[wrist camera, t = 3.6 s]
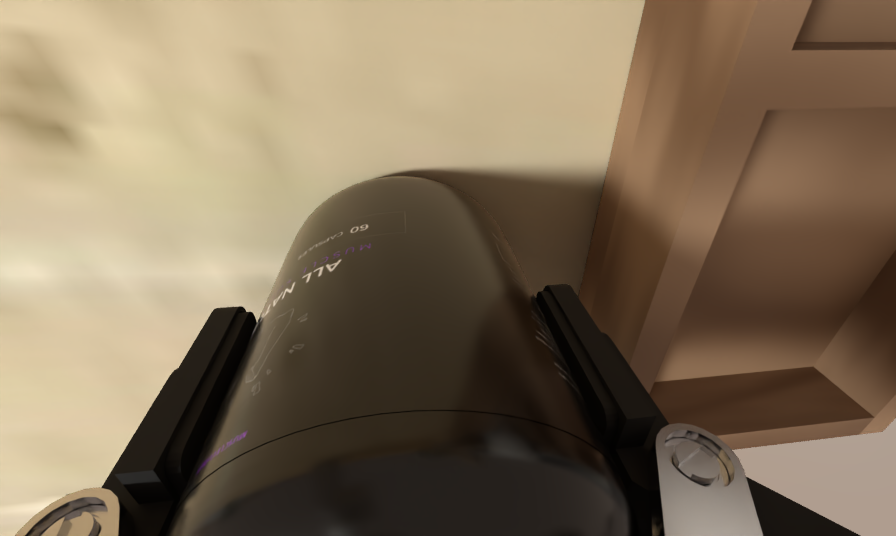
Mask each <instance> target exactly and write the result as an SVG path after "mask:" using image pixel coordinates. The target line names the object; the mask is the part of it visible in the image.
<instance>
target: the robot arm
mask: <svg viewBox="0 0 896 536" xmlns="http://www.w3.org/2000/svg"><path fill="white" fill-rule="evenodd" d="M536 300H537V302H538V304H539V307H540V309H541V311H542V313H543V315H544V317H545V319H546V321H547V323H548V325H549V327H550V329H551V331H552V333H553V336H554V338H555V340H556V342H557V344H558V346H559V348H560V350H561V352H562V354H563V356H564V358H565V360H566V362H567V365H568V367H569V369H570V371H571V373H572V375H573V377H574V379H575V381H576V383H577V385H578V387H579V389H580V391H581V394H582V396H583V398H584V400H585V402H586V404H587V406H588V408H589V410H590V412H591V414H592V416H593V418H594V420H595V423H596V425H597V427H598V429H599V431H600V433H601V435H602V437H603V439H604V441H605V443H606V445H607V448H608V450H609V452H610V454H611V456H612V458H613V460H614V462H615V464H616V466H617V468H618V471H619V473H620V475H621V477H622V479H623V483H624V485H625V487H626V489H627V491H628V494H629V496H630V499H631V501H632V504H633V506H634V508H635V512H636V515H637V519H638V523H639V527H640V534H641V536H860V535H858V534H856V533H854V532H852V531H850V530H849V529H847V528H844V527H843V526H841V525H839V524H837V523H835V522H833V521H831V520H829V519H827V518H825V517H823V516H821V515H819V514H817V513H816V512H814V511H812V510H810V509H808V508H806V507H804V506H802V505H800V504H798V503H796V502H794V501H792V500H790V499H788V498H786V497H784V496H783V495H781V494H779V493H777V492H775V491H773V490H771V489H769V488H767V487H765V486H763V485H761V484H759V483H757V482H755V481H753V480H751V479H749V478H748V477H746V475H745V472H744V469H743V467H742V465H741V463H740V461H739V458H738V457H737V456H736V455H735V453H734V452H733V451H732V450H731V448H730V447H729V446H728V445H727V444H725V443H724V442H723V441H722V440H721V439H720V438H718V437H717V436H715V435H713V434H712V433H710V432H708V431H707V430H705V429H702V428H699V427H697V426H694V425H690V424H683V423H676V424H669V423H668V421H667V420H666V418H665V417H664V415H663V414H662V413H661V411H660V410H659V408H658V407H657V405H656V404H655V402H654V401H653V399H652V398H651V396H650V395H649V393H648V392H647V391H646V389H645V388H644V386H643V385H642V383H641V382H640V380H639V379H638V377H637V376H636V374H635V373H634V371H633V370H632V369H631V367H630V366H629V364H628V363H627V361H626V360H625V358H624V357H623V355H622V354H621V352H620V351H619V349H618V348H617V347H616V345H615V344H614V342H613V341H612V339H611V338H610V337H609V336H608V335H607V334H606V333H604V332H601V331H600V330H599V328H598V327H597V325H596V324H595V322H594V321H593V319H592V318H591V316H590V315H589V313H588V312H587V310H586V309H585V307H584V306H583V304H582V303H581V301H580V300H579V298H578V297H577V295H576V294H575V292H574V291H573V289H572V288H571V286H570V285H568V284H561V285H547V286H545V288H544V290H543V291H541V292H538V294H537V297H536ZM256 325H257V322H256V319H255V316H254V314H253V313H252V312H246V310H245V309H244V308H243V307H227V308H216V309H214V310H213V312H212V313H211V315H210V316H209V318H208V320H207V321H206V323H205V325H204V326H203V328H202V330H201V331H200V333H199V335H198V336H197V338H196V340H195V341H194V343H193V345H192V346H191V348H190V350H189V351H188V353H187V355H186V356H185V358H184V360H183V361H182V363H181V365H180V366H179V368H178V369H176V370H174V372H173V373H172V374H171V375H170V377H169V378H168V380H167V381H166V383H165V385H164V386H163V388H162V390H161V391H160V393H159V395H158V396H157V398H156V399H155V401H154V403H153V404H152V406H151V408H150V409H149V411H148V413H147V414H146V416H145V417H144V419H143V421H142V422H141V424H140V426H139V427H138V429H137V431H136V432H135V434H134V435H133V437H132V439H131V440H130V442H129V444H128V445H127V447H126V449H125V450H124V452H123V453H122V455H121V457H120V458H119V460H118V462H117V463H116V465H115V467H114V468H113V470H112V471H111V473H110V475H109V476H108V478H107V480H106V481H105V483H104V485H103V486H102V488H100V487H99V488H89V489H83V490H80V491H77V492H74V493H71V494H68V495H66V496H65V497H63V498H61V499H59V500H57V501H55V502H53V503H51V504H50V505H49V506H47V507H46V508H44V509H43V510H42V511H40V512H39V513H38V514H36V515H35V516H33V517H32V518H31V519H30V520H29V521H28V522H27V523H26V524H25V525H24V526H23V527H22V528H21V529H20V530H19V531H18V532H17V534H16V535H15V536H166V533H167V531H168V529H169V526H170V523H171V520H172V518H173V515H174V512H175V510H176V508H177V505H178V503H179V501H180V498H181V496H182V494H183V491H184V489H185V487H186V485H187V482H188V480H189V478H190V475H191V473H192V471H193V469H194V466H195V464H196V462H197V459H198V457H199V455H200V452H201V450H202V448H203V446H204V443H205V441H206V439H207V436H208V434H209V432H210V430H211V427H212V425H213V423H214V420H215V418H216V416H217V414H218V411H219V409H220V407H221V405H222V402H223V400H224V398H225V395H226V393H227V391H228V389H229V386H230V384H231V382H232V379H233V377H234V375H235V373H236V370H237V368H238V366H239V363H240V361H241V359H242V357H243V354H244V352H245V350H246V347H247V345H248V343H249V341H250V338H251V336H252V334H253V331H254V329H255V327H256Z"/></svg>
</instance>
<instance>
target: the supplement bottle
mask: <svg viewBox="0 0 896 536" xmlns="http://www.w3.org/2000/svg"><path fill="white" fill-rule="evenodd" d="M166 536H641V534H640V527H639V523H638V519H637V515H636V512H635V508H634V506H633V504H632V501H631V499H630V496H629V494H628V491H627V489H626V487H625V485H624V483H623V479H622V477H621V475H620V473H619V471H618V468H617V466H616V464H615V462H614V460H613V458H612V456H611V454H610V452H609V450H608V448H607V445H606V443H605V441H604V439H603V437H602V435H601V433H600V431H599V429H598V427H597V425H596V423H595V420H594V418H593V416H592V414H591V412H590V410H589V408H588V406H587V404H586V402H585V400H584V398H583V396H582V394H581V391H580V389H579V387H578V385H577V383H576V381H575V379H574V377H573V375H572V373H571V371H570V369H569V367H568V365H567V362H566V360H565V358H564V356H563V354H562V352H561V350H560V348H559V346H558V344H557V342H556V340H555V338H554V336H553V333H552V331H551V329H550V327H549V325H548V323H547V321H546V319H545V317H544V315H543V313H542V311H541V309H540V307H539V304H538V302H537V300H536V298H535V296H534V294H533V292H532V290H531V288H530V286H529V284H528V282H527V280H526V278H525V275H524V273H523V271H522V269H521V267H520V265H519V263H518V261H517V259H516V257H515V255H514V253H513V251H512V249H511V247H510V245H509V243H508V241H507V239H506V238H505V236H504V234H503V232H502V230H501V228H500V227H499V225H498V224H497V222H496V221H495V220H494V218H493V217H492V216H491V215H490V214H489V212H488V211H487V210H486V209H485V208H484V207H483V206H482V205H481V204H479V203H478V202H477V201H476V200H474V199H473V198H472V197H470V196H468V195H467V194H465V193H464V192H462V191H460V190H458V189H456V188H454V187H452V186H449V185H447V184H444V183H441V182H438V181H435V180H431V179H426V178H420V177H411V176H390V177H382V178H376V179H372V180H368V181H364V182H361V183H358V184H355V185H353V186H351V187H348V188H346V189H344V190H342V191H340V192H339V193H337V194H335V195H333V196H332V197H330V198H329V199H328V200H326V201H325V202H324V203H322V204H321V205H320V206H319V207H318V208H317V209H316V210H315V211H314V212H313V213H312V214H311V215H310V216H309V218H308V219H307V220H306V222H305V223H304V224H303V226H302V227H301V229H300V230H299V232H298V234H297V236H296V238H295V240H294V242H293V244H292V246H291V248H290V250H289V252H288V254H287V256H286V258H285V261H284V263H283V265H282V267H281V270H280V272H279V274H278V277H277V279H276V281H275V283H274V286H273V288H272V290H271V293H270V295H269V297H268V299H267V302H266V304H265V306H264V309H263V311H262V313H261V315H260V318H259V320H258V322H257V325H256V327H255V329H254V331H253V334H252V336H251V338H250V341H249V343H248V345H247V347H246V350H245V352H244V354H243V357H242V359H241V361H240V363H239V366H238V368H237V370H236V373H235V375H234V377H233V379H232V382H231V384H230V386H229V389H228V391H227V393H226V395H225V398H224V400H223V402H222V405H221V407H220V409H219V411H218V414H217V416H216V418H215V420H214V423H213V425H212V427H211V430H210V432H209V434H208V436H207V439H206V441H205V443H204V446H203V448H202V450H201V452H200V455H199V457H198V459H197V462H196V464H195V466H194V469H193V471H192V473H191V475H190V478H189V480H188V482H187V485H186V487H185V489H184V491H183V494H182V496H181V498H180V501H179V503H178V505H177V508H176V510H175V512H174V515H173V518H172V520H171V523H170V526H169V529H168V531H167V533H166Z"/></svg>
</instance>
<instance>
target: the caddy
mask: <svg viewBox="0 0 896 536" xmlns="http://www.w3.org/2000/svg"><path fill="white" fill-rule="evenodd" d="M578 298H579V300H580V301H581V303H582V304H583V306H584V307H585V309H586V310H587V312H588V313H589V315H590V316H591V318H592V319H593V321H594V322H595V324H596V325H597V327H598V328H599V330H600V331H601V332H604V333H606V334H607V335H608V336H609V337H610V338H611V339H612V341H613V342H614V344H615V345H616V347H617V348H618V349H619V351H620V352H621V354H622V355H623V357H624V358H625V360H626V361H627V363H628V364H629V366H630V367H631V369H632V370H633V371H634V373H635V374H636V376H637V377H638V379H639V380H640V382H641V383H642V385H643V386H644V388H645V389H646V391H647V392H648V393H649V395H650V396H651V398H652V399H653V401H654V402H655V404H656V405H657V407H658V408H659V410H660V411H661V413H662V414H663V415H664V417H665V418H666V420H667V421H668V423H669V424H676V423H683V424H690V425H694V426H697V427H699V428H702V429H705V430H707V431H708V432H710V433H712V434H713V435H715V436H717V437H718V438H720V439H721V440H722V441H723V442H724V443H725V444H727V445H728V446H729V447H730V448H731V450H734V449H742V448H751V447H759V446H767V445H776V444H784V443H793V442H801V441H809V440H817V439H825V438H834V437H842V436H850V435H859V434H866V433H875V432H882V431H883V430H885V429H886V428H887V426H888V425H889V424H890V423H891V422H892V421H893V420H894V419H895V418H896V0H646V1H645V5H644V10H643V14H642V19H641V23H640V27H639V32H638V36H637V41H636V45H635V50H634V54H633V58H632V63H631V67H630V72H629V76H628V81H627V85H626V89H625V94H624V98H623V103H622V107H621V111H620V116H619V120H618V125H617V129H616V134H615V138H614V142H613V147H612V151H611V156H610V160H609V165H608V169H607V173H606V178H605V182H604V187H603V191H602V196H601V200H600V204H599V209H598V213H597V218H596V222H595V226H594V231H593V235H592V240H591V244H590V249H589V253H588V257H587V262H586V266H585V271H584V275H583V280H582V284H581V288H580V293H579V297H578Z"/></svg>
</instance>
